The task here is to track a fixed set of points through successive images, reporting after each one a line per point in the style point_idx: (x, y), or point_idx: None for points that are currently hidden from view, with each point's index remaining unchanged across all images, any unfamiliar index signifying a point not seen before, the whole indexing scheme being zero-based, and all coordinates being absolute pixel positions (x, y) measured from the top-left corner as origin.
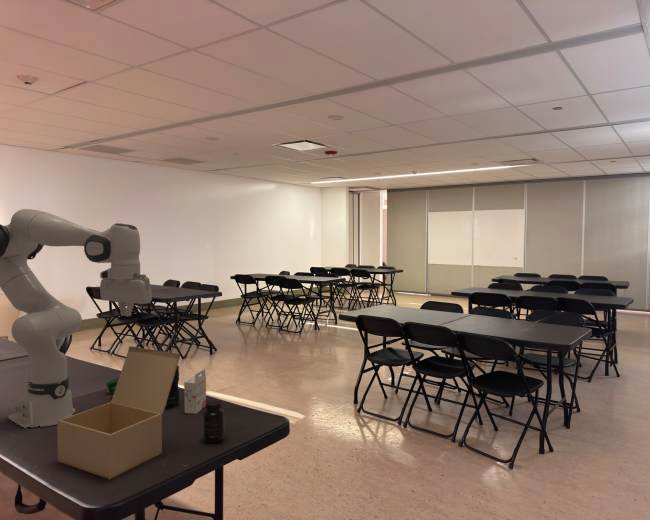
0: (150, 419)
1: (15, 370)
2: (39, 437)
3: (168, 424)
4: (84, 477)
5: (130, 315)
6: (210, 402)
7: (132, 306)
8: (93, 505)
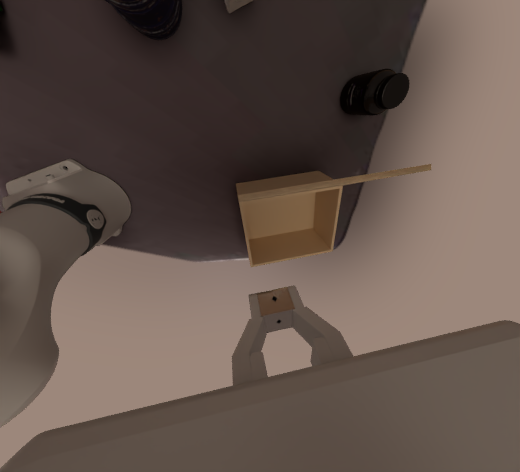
0: (339, 203)
1: None
2: (165, 231)
3: (254, 93)
4: None
5: (294, 287)
6: (389, 93)
7: (332, 331)
8: None
